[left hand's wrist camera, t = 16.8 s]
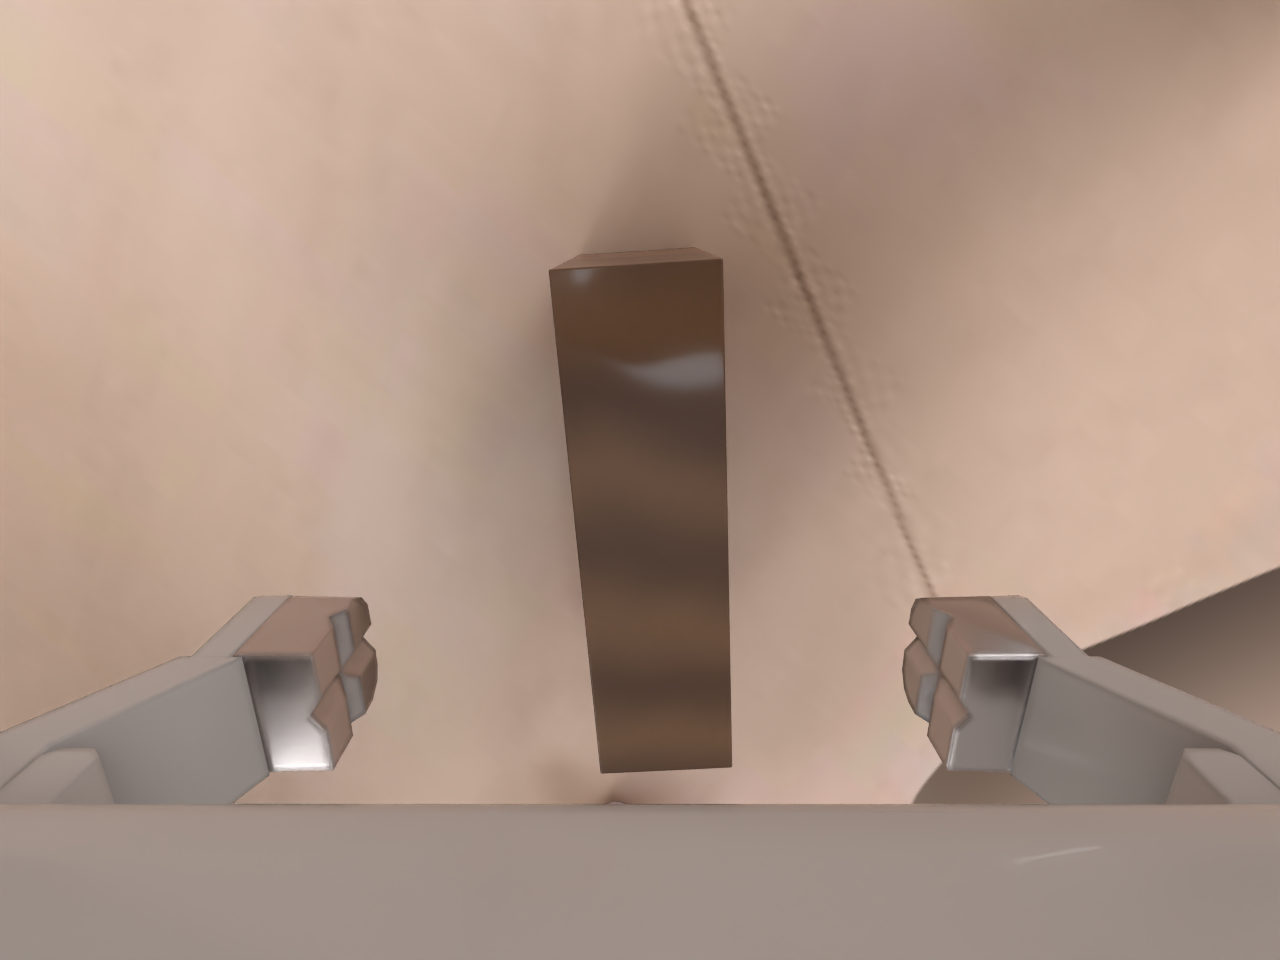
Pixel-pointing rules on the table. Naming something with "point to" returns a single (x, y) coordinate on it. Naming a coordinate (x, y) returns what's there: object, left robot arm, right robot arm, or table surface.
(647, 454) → the box
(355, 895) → the left robot arm
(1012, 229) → the table surface
